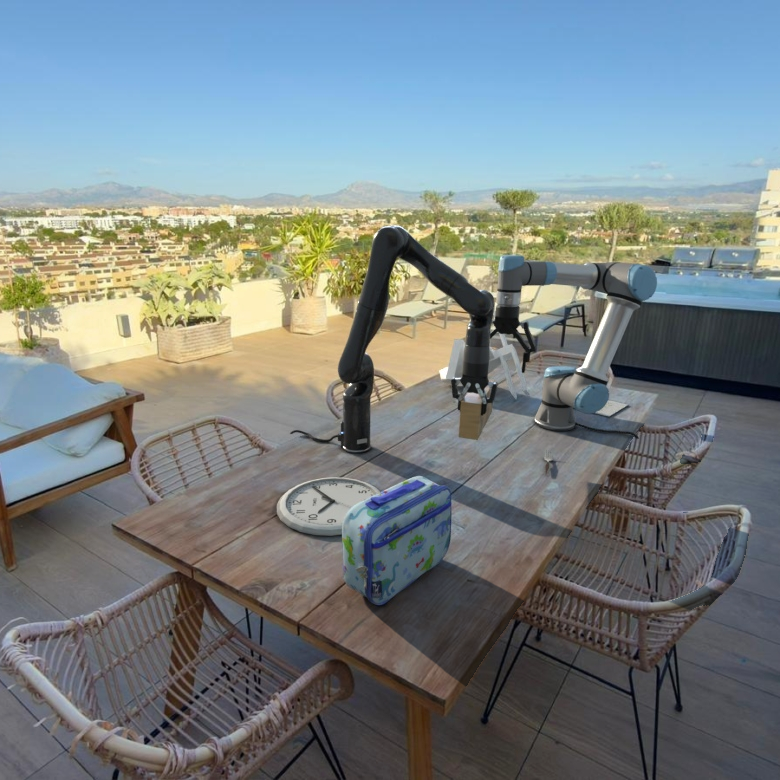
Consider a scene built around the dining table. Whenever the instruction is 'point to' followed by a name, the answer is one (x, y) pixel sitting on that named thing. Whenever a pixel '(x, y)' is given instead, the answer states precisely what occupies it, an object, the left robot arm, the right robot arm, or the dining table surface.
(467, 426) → the box
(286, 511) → the wall clock
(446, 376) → the white plastic object
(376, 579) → the lunch box
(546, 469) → the fork
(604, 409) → the invitation card
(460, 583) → the dining table surface
